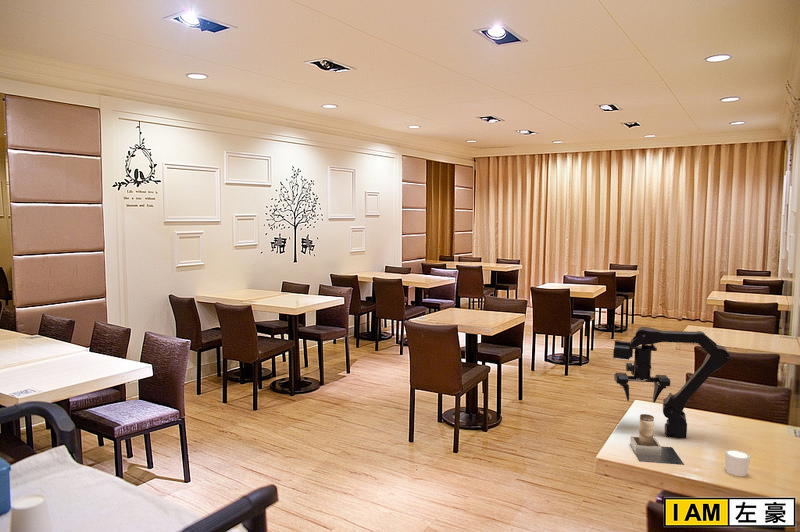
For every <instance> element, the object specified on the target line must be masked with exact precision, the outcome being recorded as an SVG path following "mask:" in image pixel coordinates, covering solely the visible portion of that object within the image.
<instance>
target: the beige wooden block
mask: <svg viewBox="0 0 800 532" xmlns="http://www.w3.org/2000/svg"><path fill="white" fill-rule="evenodd" d="M654 420H655V417H654V416H653V415H651V414H647V413H642V414H640V415H639V426H638V427H639V430H638V432H639V433H638V437H639V445H645V446H653V438H654V427H655V425H654V424H655V423H654Z"/></svg>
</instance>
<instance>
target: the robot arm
mask: <svg viewBox="0 0 800 532" xmlns="http://www.w3.org/2000/svg"><path fill="white" fill-rule="evenodd" d="M659 343H678V344H679V343H681V344H682V343H683V344H698V345H699V346H700V347H701V348H702V349H703V350H704V351H705V352H706V353H707V354H706V356H705V358H704V360H703V363H702V364H701V366H700V367H699V368H698V369H696V370H695V372H694V374H692V375H691V376H690V378H689V379H688V380H687V381H686V382H685V383H684V385H683V386H682V387H681V388H680V389H679V390H678V392H676V393H674V394H672V392H669V393H668V395H667V396H666V398H664V399H663V400H662V401H663V403H662V414H663V415H664V418H665V417H666V423H664V435H665V437H666V438H673V439H674V438H675V439H687V437H688V436H687V431H688V423H687V418H686V417H687V416H686V413H685V412H684V409H685V406H686V405H687V403H688V401H689V400H690V399H691V397H693V395H694V394H695V393H696V392H697V391H698V390H699V388H700V387H701V386H702V385H704V383H705V382H706V381H707V380H708V378H709V377H710V376H711V375H712V374H713V373H714V372H717V371H718V370H720V369H721V368H723V367H724V366H725V365H727V364H728V363H729V361H730V357H731V356H730V353H729V351H728V350H727V348H726V347H725V346H723V345H720V344H717V343H716V342H715V341H714V340H713V339H711V338H710V337H709V336H707V335H706V333H705V332H703V330H702V331H701V330H697V331H689V330H688V331H686V330H685V331H683V330H681V331H680V330H661V329H657V328H654V327H653V328H652V327H648V326H640V327H639V328H637V329H636V331H635V335H634V337H632V338H631V340H630V341H624V340H623V341H621V340H615V341H614V347H613V355H612V357H613V359H619V360H630V359H631V358H633V357H634V361H633V363H632V362H626V363H625V371H626V372H630V374H631V375H628V374H627V373H626V372H615V373H614V378H613V380H614V381H615V383H616V384H618V385H620V387H622V388H623V391H624V394H625V397H626V401H627V402H629V401H630V385H629V384H628V383H629V382H639V383H640V382H641V383H653V386H654V387H653V395H652V402H653V403H656V401H657V399H658V398H659V396H660V394H661V393H662V392H663V390H664V389H667V387H671V379H670V378H669V377H668V376H667V375H666V374H655V376H651V372H652V371H651V370H652V352H657V351H658V348H657V347H656V345H655V344H659ZM633 355H634V356H633Z"/></svg>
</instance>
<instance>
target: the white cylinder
mask: <svg viewBox="0 0 800 532" xmlns="http://www.w3.org/2000/svg"><path fill="white" fill-rule="evenodd" d="M724 459H725V460H724V461H725V462H724V464H725V471H726V472H727V474H728V475H732V476H735V477H742V478H743V477H747V475H748V473H749V472H748V471H749V465H750V460H751V456H750V454H748V453H747V452H744V451H741V450H738V449H737V450H736V449H728V450H727V449H726V450H725V451H724Z"/></svg>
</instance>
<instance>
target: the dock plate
mask: <svg viewBox="0 0 800 532" xmlns="http://www.w3.org/2000/svg"><path fill="white" fill-rule="evenodd" d="M629 441H630V442H629V446H630V447H631V449H632V451H633V452H634V455H635V457H636V458H637V460H638V462H640V463H650V464H651V463H654V464H664V465H665V464H667V465H677V466H678V465H679V466H680V465H681V466H685V463H684V461H683V460H682V459H681V458H680V456H679V455H678V454H677V452H676V451H675V449H674V448H673V446H662V445H661V444H660V443H659V441H658V440H657V438H656V437H653V446H645V445H639V436H635V435H634V436H632V435H630V440H629Z"/></svg>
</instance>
